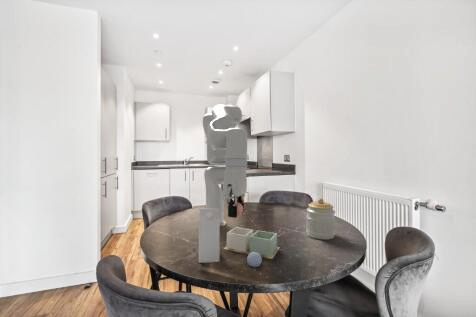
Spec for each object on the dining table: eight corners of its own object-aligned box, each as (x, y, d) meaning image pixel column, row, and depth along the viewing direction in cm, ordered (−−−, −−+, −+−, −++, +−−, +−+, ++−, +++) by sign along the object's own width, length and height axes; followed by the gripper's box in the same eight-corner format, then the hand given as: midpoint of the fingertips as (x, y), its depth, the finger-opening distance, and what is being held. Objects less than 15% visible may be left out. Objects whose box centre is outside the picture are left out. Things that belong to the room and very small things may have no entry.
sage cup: (250, 252, 86) (250, 236, 86) (257, 244, 93) (257, 230, 93) (270, 256, 82) (271, 240, 82) (276, 248, 90) (277, 233, 89)
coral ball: (226, 217, 79) (226, 203, 78) (232, 213, 83) (233, 200, 83) (239, 219, 76) (239, 204, 76) (245, 215, 81) (245, 201, 81)
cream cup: (226, 247, 90) (226, 232, 90) (235, 240, 97) (235, 226, 97) (245, 251, 86) (245, 236, 86) (253, 243, 94) (253, 229, 94)
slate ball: (244, 268, 76) (244, 254, 76) (250, 262, 80) (250, 248, 80) (258, 272, 74) (258, 256, 74) (263, 265, 78) (263, 251, 78)
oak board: (223, 251, 89) (223, 248, 89) (235, 242, 99) (235, 239, 99) (272, 262, 81) (272, 258, 80) (280, 250, 90) (280, 247, 90)
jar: (301, 235, 108) (301, 198, 107) (313, 228, 117) (313, 195, 117) (328, 242, 99) (329, 202, 99) (339, 235, 108) (339, 198, 108)
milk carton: (200, 256, 85) (200, 206, 84) (219, 256, 85) (219, 205, 85) (198, 266, 78) (198, 210, 77) (219, 265, 78) (219, 210, 78)
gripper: (237, 162, 89) (236, 208, 89) (214, 164, 73) (214, 220, 74) (255, 163, 86) (254, 210, 86) (235, 165, 70) (235, 223, 70)
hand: (236, 214), depth 80 cm, fingers closed on coral ball, 4 cm apart
